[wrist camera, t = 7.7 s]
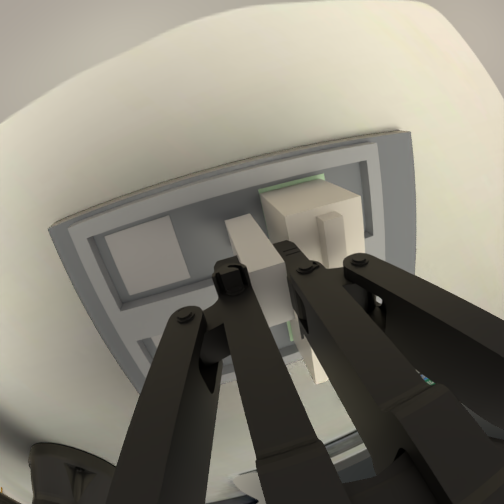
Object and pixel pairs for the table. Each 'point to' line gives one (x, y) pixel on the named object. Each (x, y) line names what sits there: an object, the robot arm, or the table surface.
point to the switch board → (220, 237)
